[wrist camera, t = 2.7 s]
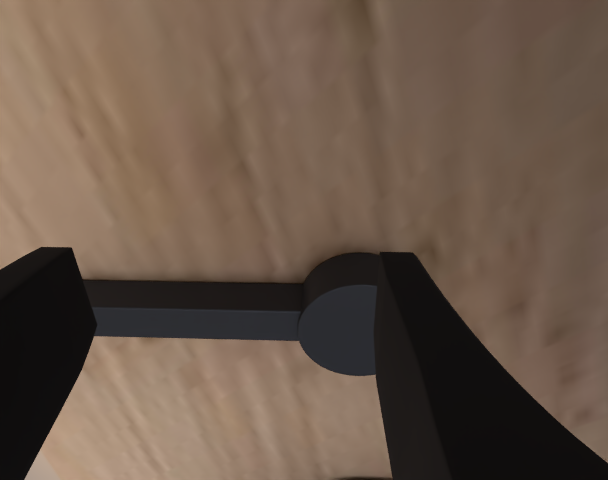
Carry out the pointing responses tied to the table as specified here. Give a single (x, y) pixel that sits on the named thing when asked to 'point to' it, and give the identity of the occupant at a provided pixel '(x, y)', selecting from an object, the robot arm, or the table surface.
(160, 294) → the coffee scoop
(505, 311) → the table surface
